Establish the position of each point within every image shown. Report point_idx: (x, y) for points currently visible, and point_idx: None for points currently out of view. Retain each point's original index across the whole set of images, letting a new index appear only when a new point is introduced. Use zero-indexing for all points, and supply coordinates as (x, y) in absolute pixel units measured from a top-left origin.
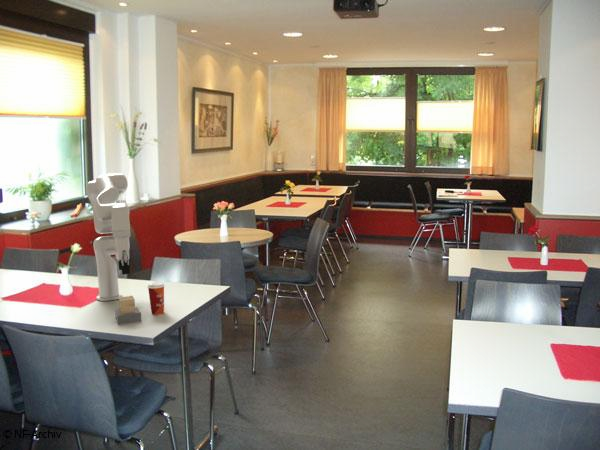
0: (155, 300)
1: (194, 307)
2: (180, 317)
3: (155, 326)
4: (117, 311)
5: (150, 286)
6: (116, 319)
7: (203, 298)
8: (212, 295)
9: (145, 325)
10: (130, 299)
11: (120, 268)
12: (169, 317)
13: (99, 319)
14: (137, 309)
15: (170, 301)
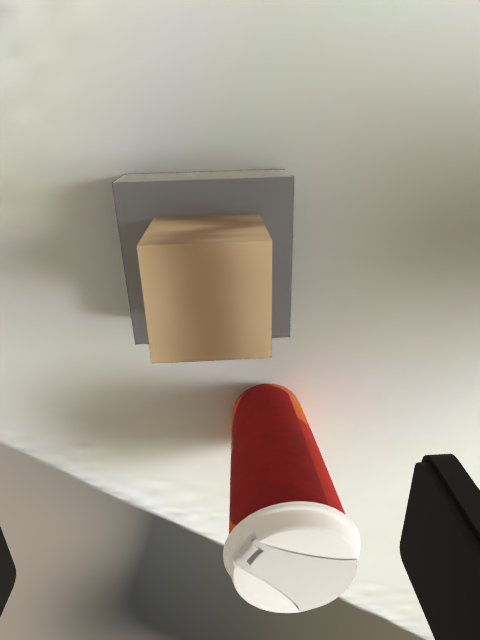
0: (233, 463)
1: None
2: (132, 490)
3: (6, 374)
4: (234, 195)
5: (257, 530)
6: (203, 173)
7: (399, 594)
8: (422, 622)
9: (44, 329)
10: (148, 332)
11: (426, 495)
12: (154, 450)
13: (323, 47)
14: None
15: None
